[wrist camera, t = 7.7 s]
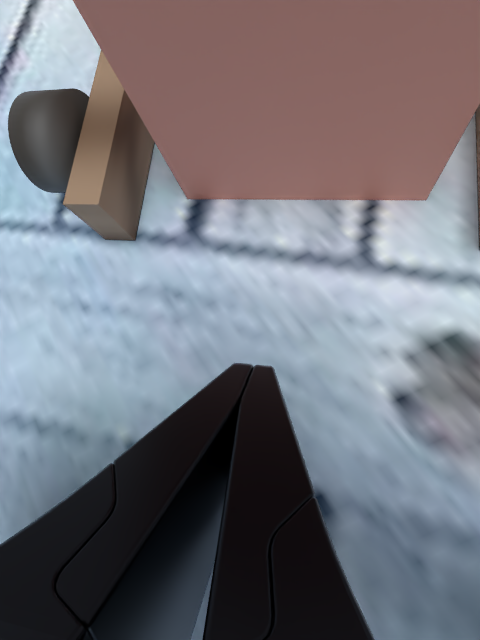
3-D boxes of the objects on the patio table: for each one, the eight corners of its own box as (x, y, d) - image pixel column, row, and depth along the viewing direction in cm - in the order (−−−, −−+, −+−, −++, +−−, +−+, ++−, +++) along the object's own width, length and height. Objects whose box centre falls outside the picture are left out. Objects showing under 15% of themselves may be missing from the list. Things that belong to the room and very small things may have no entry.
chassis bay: (606, 254, 13) (734, 187, 9) (57, 238, 17) (-14, 189, 13) (563, -134, 17) (637, -292, 13) (132, -66, 21) (94, -169, 18)
